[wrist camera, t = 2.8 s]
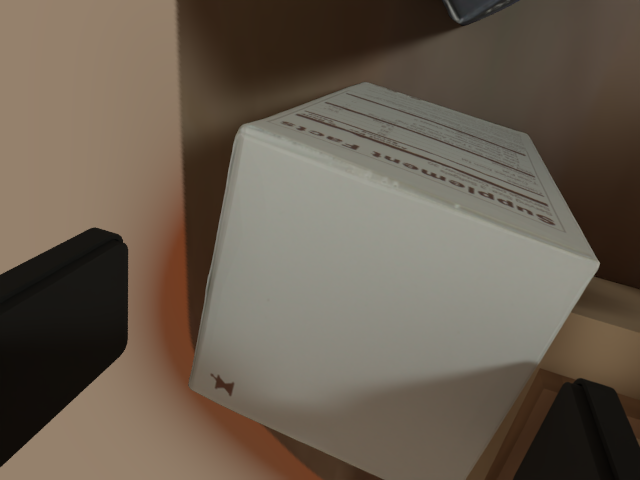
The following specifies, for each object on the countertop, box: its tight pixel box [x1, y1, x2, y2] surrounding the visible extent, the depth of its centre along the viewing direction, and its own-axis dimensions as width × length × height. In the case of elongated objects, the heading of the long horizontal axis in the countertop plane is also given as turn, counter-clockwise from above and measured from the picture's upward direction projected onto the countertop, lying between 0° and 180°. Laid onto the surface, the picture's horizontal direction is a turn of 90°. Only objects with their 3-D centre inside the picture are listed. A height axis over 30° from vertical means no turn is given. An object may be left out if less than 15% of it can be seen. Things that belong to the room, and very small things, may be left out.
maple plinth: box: [466, 276, 640, 480], centre depth 21 cm, size 15×16×5 cm
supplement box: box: [188, 82, 600, 480], centre depth 16 cm, size 7×7×13 cm
